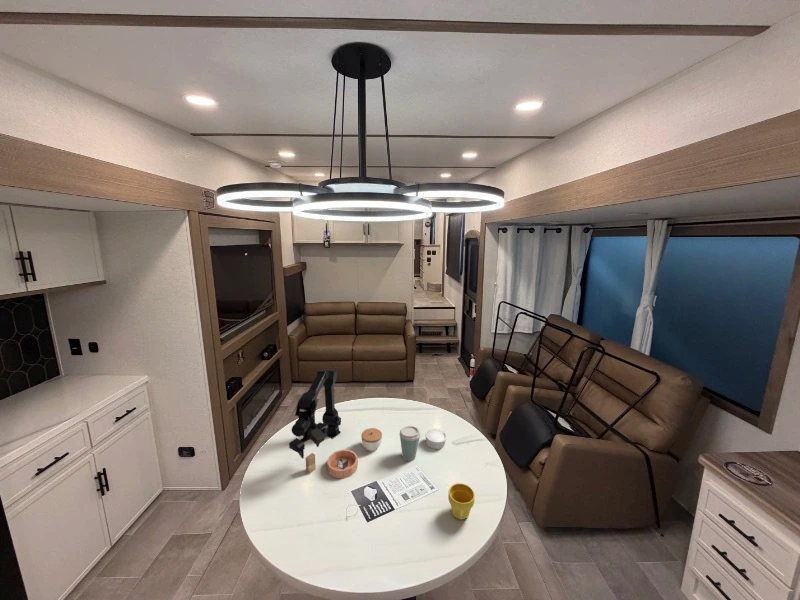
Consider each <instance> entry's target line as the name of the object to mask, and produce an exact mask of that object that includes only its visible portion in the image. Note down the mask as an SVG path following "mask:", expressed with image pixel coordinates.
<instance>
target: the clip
mask: <svg viewBox="0 0 800 600" xmlns="http://www.w3.org/2000/svg"><path fill="white" fill-rule="evenodd" d="M337 461H338V467H340V468H342V469H345V468H346V467H347V466H348V460H346V461H345V462H344V463H343V457H341V458H340V459H339V460H337Z"/></svg>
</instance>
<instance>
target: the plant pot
mask: <svg viewBox="0 0 800 600" xmlns="http://www.w3.org/2000/svg"><path fill="white" fill-rule="evenodd" d="M475 494H476V493H475V491H474V490H473V488H472V487H470V486H469V485H467V484H465V483H460V482H459V483H457V482H456V483H453V484H452V485H451V486H450V487H449V489H448V494H447V495H448V502H449V504H450V506H451V508H450V509H451V512H452V515H453V517H454V516H455V517H456V518H455V517H454V518H455V519H457V518H458V519H457V520H459V519H465V518H467V517H468V518H469V516H470V513H471V509H472V508H473V507H474V504H475V501H476V500H475V499H476V497H475ZM468 518H467V519H468ZM465 520H466V519H465Z"/></svg>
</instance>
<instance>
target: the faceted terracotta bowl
mask: <svg viewBox="0 0 800 600" xmlns="http://www.w3.org/2000/svg"><path fill="white" fill-rule="evenodd" d="M341 457H343V463H344V462H345V461H346V460H348V466H347V467H346V468H345V469H342V468H340V467H338V461H337V460H339V459H340V458H341ZM326 465H327V466H326V467H327V471H328V473H329V475H330V476H331V477H334V478H336V479H346V478H349V477H350V476H351V477H352V476H353V475H354V474H355V473H356V472H357V470H358V466H359V456H358V455H357V454H356V452H355V451H353V450H350V449H339V450H336V451H334V452H332V453H331V454H330V455H329V457H328V459H327V464H326Z"/></svg>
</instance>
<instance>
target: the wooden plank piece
mask: <svg viewBox="0 0 800 600" xmlns="http://www.w3.org/2000/svg"><path fill="white" fill-rule="evenodd" d="M316 467H317V466H316V454H315V453H313V452H311V453H310V454H309V455H307V456H306V457H305V473H306V474H308V475H310V474H312V473H313V472H314V471H315V470H317V468H316Z"/></svg>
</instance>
